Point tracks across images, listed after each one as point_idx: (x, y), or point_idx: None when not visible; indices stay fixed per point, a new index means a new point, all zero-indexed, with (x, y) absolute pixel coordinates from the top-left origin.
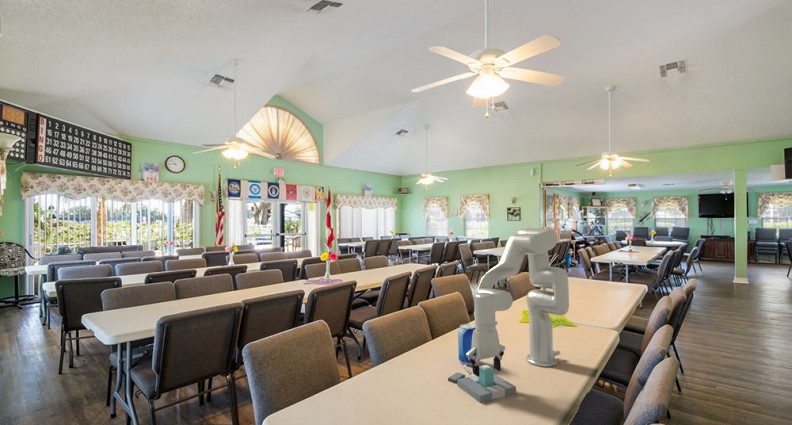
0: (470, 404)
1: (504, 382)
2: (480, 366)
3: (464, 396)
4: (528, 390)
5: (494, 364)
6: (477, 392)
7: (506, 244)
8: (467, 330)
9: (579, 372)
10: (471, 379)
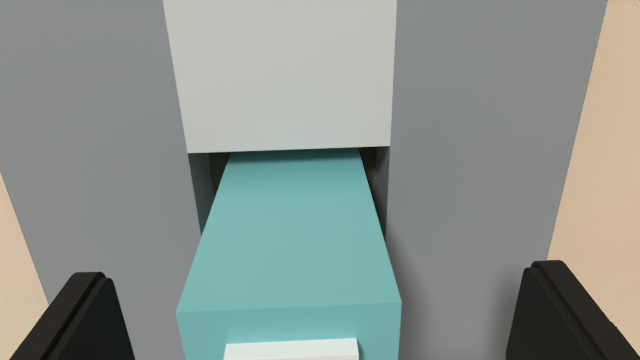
0: (17, 346)
1: (494, 292)
2: (230, 321)
3: (7, 231)
4: (626, 331)
5: (554, 333)
6: None
7: None
8: None
9: None
10: (162, 89)
